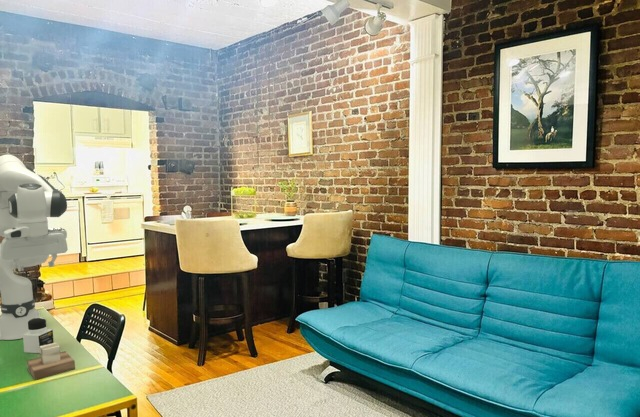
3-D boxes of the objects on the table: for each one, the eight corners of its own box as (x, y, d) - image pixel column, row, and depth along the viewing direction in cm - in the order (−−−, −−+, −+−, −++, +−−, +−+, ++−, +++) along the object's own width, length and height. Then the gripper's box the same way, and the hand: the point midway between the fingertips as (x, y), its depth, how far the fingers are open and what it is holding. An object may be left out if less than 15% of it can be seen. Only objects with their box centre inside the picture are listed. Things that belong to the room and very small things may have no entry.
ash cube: (40, 360, 164) (39, 346, 163) (56, 356, 167) (55, 342, 167) (43, 364, 160) (42, 350, 160) (60, 360, 163) (59, 346, 163)
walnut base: (27, 369, 164) (26, 360, 164) (66, 359, 172) (65, 351, 172) (34, 379, 155) (34, 371, 155) (75, 369, 163) (74, 360, 163)
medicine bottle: (40, 353, 178) (37, 322, 177) (23, 352, 180) (21, 321, 179) (54, 346, 185) (52, 316, 184) (38, 345, 187) (36, 315, 186)
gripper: (64, 226, 177) (66, 262, 179) (-2, 232, 164) (1, 271, 165) (68, 227, 172) (71, 265, 174) (1, 234, 159) (4, 275, 161)
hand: (36, 268), depth 170 cm, fingers open, 8 cm apart
